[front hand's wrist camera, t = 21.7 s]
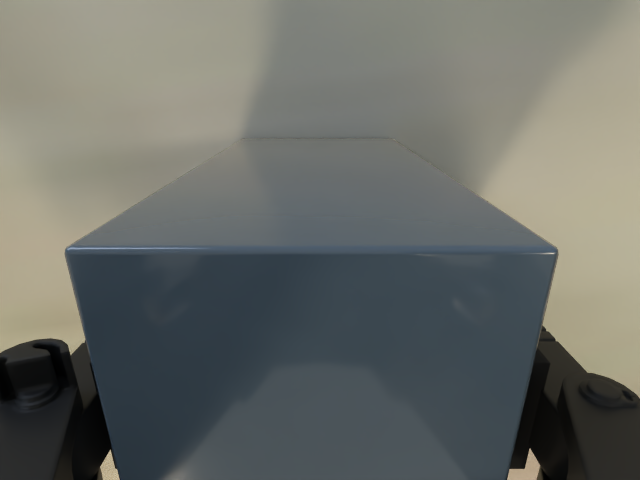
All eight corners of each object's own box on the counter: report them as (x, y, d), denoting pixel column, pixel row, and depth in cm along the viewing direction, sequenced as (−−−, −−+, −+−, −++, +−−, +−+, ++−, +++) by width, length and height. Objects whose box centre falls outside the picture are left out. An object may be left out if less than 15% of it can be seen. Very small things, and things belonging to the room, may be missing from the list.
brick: (393, 138, 14) (564, 248, 4) (380, 349, 18) (460, 694, 8) (241, 137, 14) (59, 248, 4) (255, 349, 18) (170, 694, 8)
